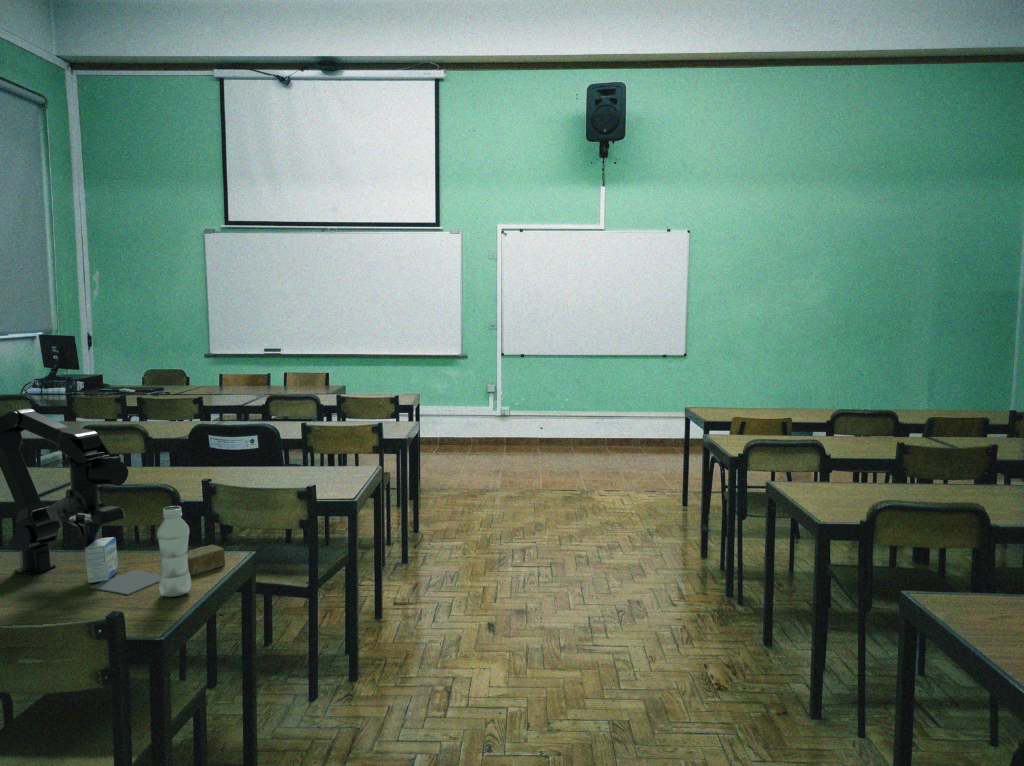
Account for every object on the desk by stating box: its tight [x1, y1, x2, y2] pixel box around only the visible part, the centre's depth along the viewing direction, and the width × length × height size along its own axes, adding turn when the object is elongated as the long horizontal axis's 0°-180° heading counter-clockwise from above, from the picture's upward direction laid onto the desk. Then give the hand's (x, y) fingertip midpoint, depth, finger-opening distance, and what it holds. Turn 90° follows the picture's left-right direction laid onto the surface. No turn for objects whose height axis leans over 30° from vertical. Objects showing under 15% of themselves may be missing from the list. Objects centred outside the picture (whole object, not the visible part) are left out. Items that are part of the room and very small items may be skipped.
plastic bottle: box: [156, 505, 192, 598], centre depth 157 cm, size 6×7×20 cm
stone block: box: [187, 544, 226, 576], centre depth 175 cm, size 6×12×5 cm, turn 145°
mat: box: [89, 569, 161, 596], centre depth 166 cm, size 12×12×1 cm
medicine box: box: [84, 536, 119, 584], centre depth 168 cm, size 8×4×9 cm, turn 14°
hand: (88, 546), depth 170 cm, fingers closed
